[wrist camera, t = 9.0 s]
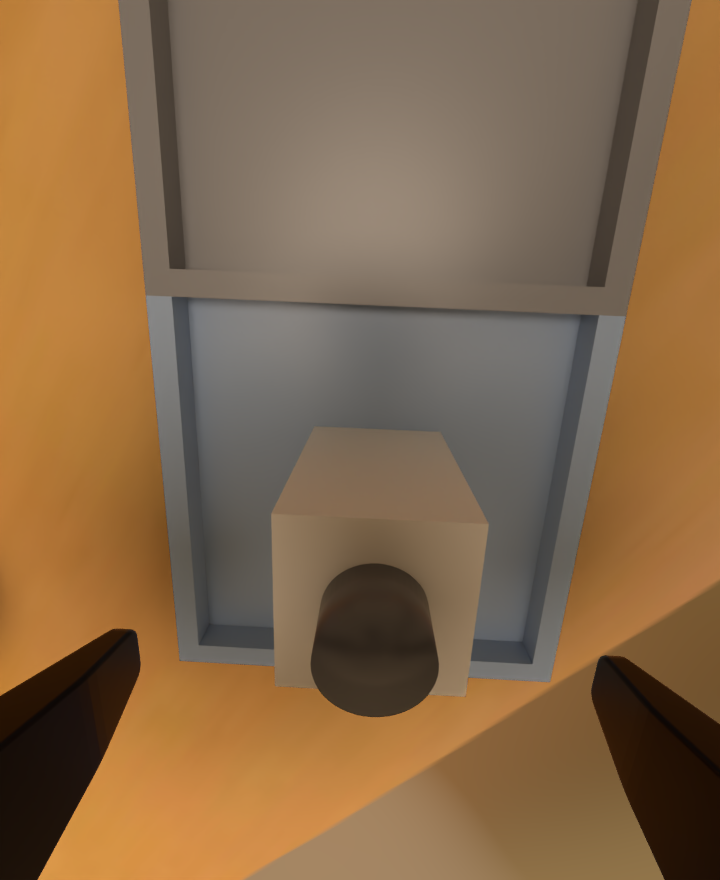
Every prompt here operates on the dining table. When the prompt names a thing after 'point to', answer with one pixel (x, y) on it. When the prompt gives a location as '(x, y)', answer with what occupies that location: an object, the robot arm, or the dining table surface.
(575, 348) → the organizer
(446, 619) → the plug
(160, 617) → the dining table surface
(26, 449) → the dining table surface
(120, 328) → the dining table surface
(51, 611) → the dining table surface
